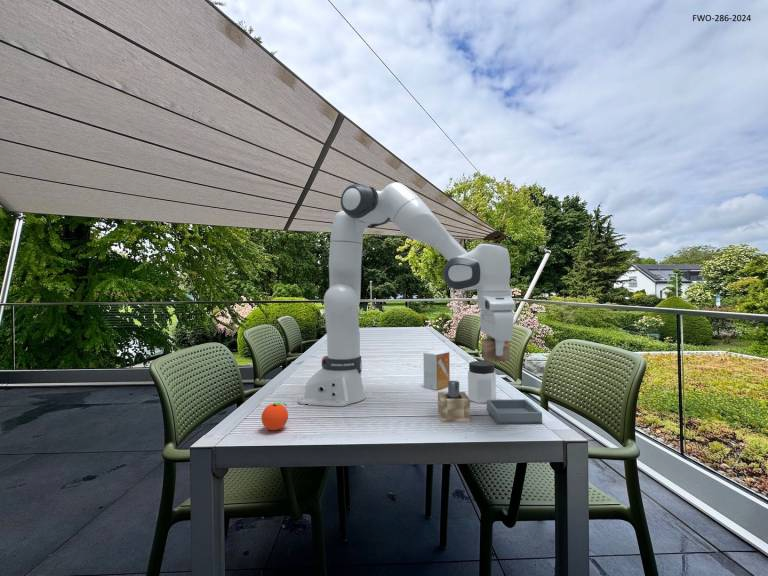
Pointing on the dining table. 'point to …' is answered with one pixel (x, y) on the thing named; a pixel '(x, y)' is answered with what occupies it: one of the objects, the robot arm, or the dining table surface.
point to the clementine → (274, 416)
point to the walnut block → (489, 350)
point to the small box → (436, 369)
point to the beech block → (453, 408)
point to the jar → (481, 381)
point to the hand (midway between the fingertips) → (495, 352)
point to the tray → (514, 412)
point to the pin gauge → (453, 389)
